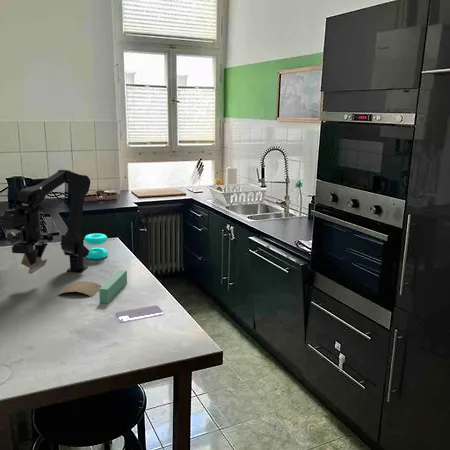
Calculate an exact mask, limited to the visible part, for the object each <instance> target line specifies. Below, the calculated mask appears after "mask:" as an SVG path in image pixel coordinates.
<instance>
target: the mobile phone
mask: <svg viewBox="0 0 450 450" xmlns="http://www.w3.org/2000/svg"><path fill="white" fill-rule="evenodd" d="M113 315H114V317H115V318H116V320H117V322H119V323H127V322H132V321H137V320H143V319H148V318H152V317H157V316H159V317H160V316H163V315H165V313H164V311H163V310H162V309H161V307H160V306H159V305H157V304H156V305H155V304H154V305H150V306H149V305H148V306H145V307H144V306H143V307H138V308H133V309H126V310H121V311H116V312H115V313H114V314H113Z"/></svg>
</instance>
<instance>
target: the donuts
mask: <svg viewBox="0 0 450 450" xmlns="http://www.w3.org/2000/svg"><path fill="white" fill-rule="evenodd" d="M107 241H108V236H107V235H106V234H104V233H99V232H98V233H97V232H96V233H89V234H86V235H85V237H83V242H84V243H86V244H87V245H89V246H90V245H92V246H97V245H98V246H99V245H102V244H105V243H106V242H107ZM88 250H89V254H88V256H86V257H85V258H86V259H89V260H101V259H105V258H107V256H108V254H109V252H108V250H107V249H106V248H104V247H92V248H89V249H88Z"/></svg>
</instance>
